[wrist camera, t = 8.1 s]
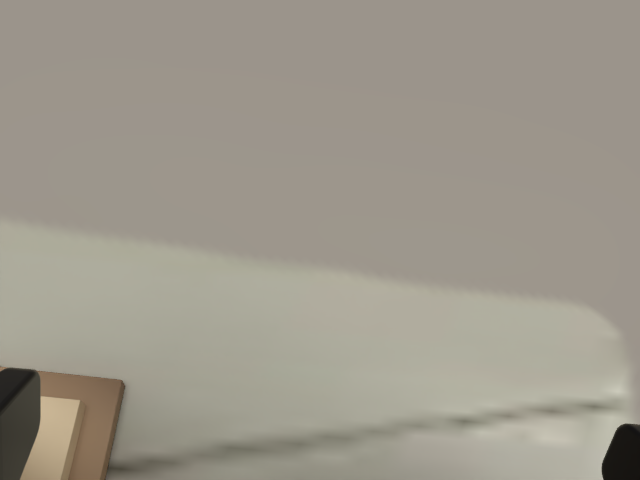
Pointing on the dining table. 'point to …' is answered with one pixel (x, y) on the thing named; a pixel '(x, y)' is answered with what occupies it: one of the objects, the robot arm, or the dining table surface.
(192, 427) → the dining table surface
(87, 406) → the stand
